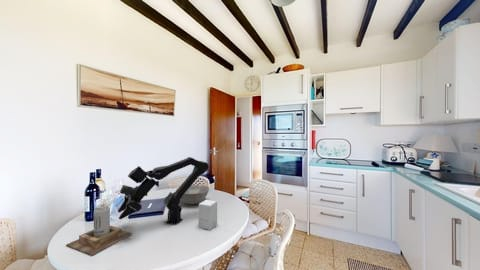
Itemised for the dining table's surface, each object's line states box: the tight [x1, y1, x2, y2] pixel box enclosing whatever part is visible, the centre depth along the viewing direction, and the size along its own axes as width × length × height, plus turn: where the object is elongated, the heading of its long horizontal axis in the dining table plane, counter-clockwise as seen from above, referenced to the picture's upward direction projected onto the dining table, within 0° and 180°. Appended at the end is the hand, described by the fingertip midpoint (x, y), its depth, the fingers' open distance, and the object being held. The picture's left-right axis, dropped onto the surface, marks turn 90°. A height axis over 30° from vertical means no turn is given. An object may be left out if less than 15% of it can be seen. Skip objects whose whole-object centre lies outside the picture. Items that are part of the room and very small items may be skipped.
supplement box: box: [198, 199, 218, 231], centre depth 103 cm, size 7×7×13 cm
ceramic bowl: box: [175, 184, 210, 205], centre depth 136 cm, size 22×23×10 cm
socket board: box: [65, 225, 134, 257], centre depth 89 cm, size 18×18×4 cm
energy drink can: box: [93, 203, 111, 238], centre depth 89 cm, size 6×6×15 cm
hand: (118, 215), depth 92 cm, fingers open, 9 cm apart
